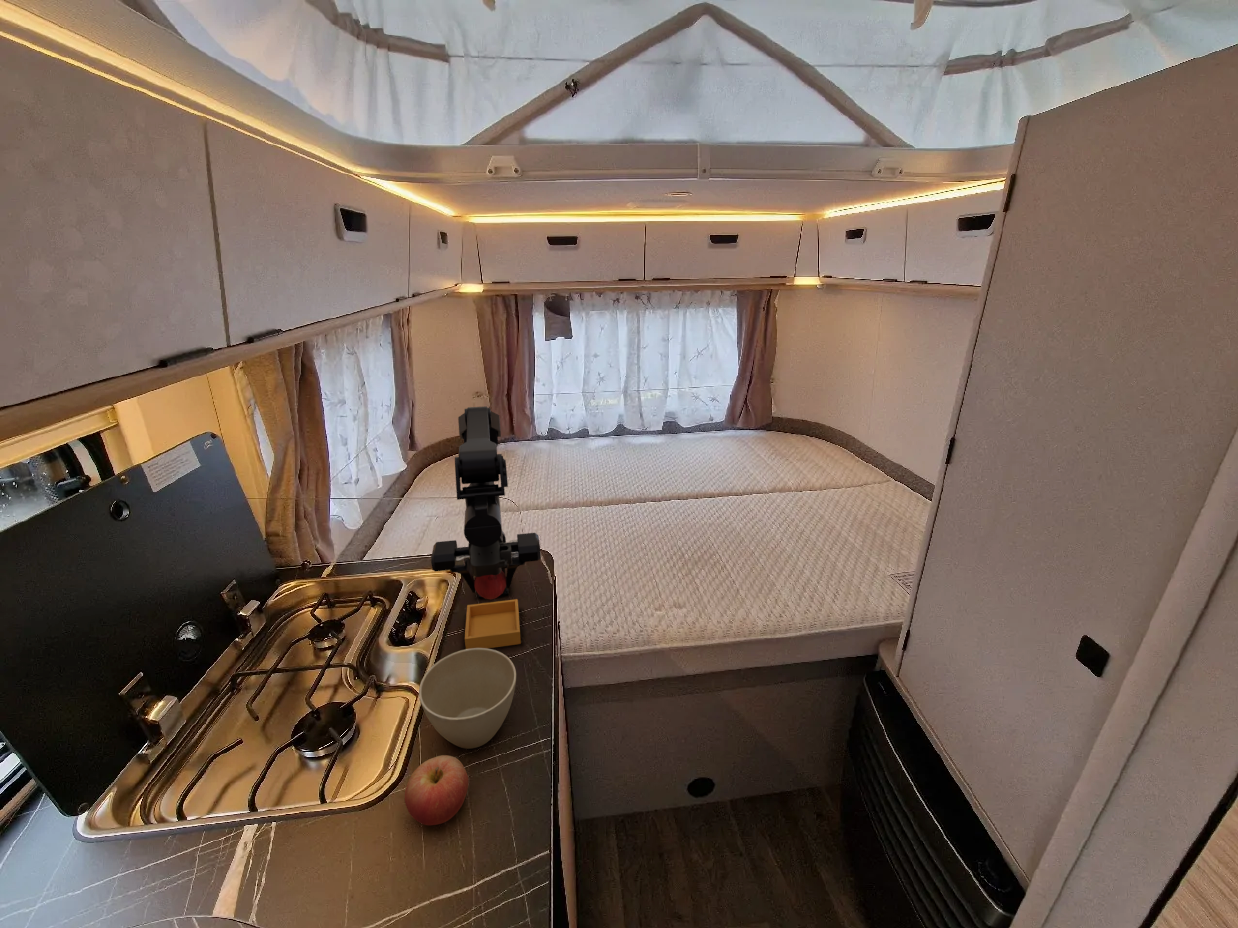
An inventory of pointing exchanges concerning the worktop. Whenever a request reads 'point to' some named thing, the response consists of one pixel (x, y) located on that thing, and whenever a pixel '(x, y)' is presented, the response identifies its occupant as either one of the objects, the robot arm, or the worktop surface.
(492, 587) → the onion
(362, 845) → the worktop surface
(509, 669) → the flower pot
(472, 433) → the robot arm
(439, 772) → the apple
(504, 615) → the amber tray
